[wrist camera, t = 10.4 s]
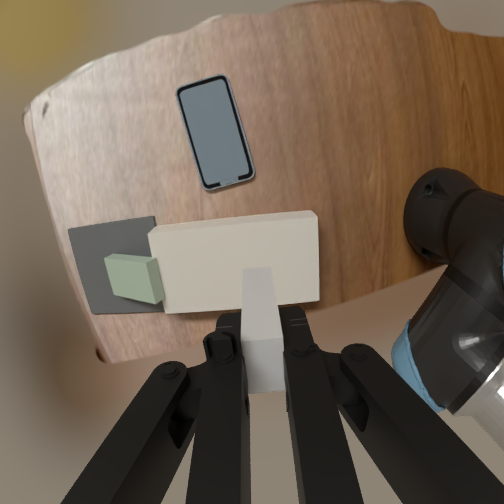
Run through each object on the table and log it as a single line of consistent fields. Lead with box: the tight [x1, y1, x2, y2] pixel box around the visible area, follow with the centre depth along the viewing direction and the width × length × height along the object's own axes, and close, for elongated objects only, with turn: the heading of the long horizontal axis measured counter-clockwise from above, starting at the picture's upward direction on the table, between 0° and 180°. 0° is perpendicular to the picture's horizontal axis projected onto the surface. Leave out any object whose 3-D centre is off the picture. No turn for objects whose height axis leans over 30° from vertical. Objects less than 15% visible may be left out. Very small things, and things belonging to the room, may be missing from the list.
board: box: [148, 210, 319, 314], centre depth 43 cm, size 22×12×4 cm, turn 96°
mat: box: [68, 216, 165, 314], centre depth 45 cm, size 15×15×1 cm
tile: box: [104, 253, 165, 304], centre depth 42 cm, size 9×6×2 cm, turn 96°
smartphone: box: [175, 74, 255, 190], centre depth 39 cm, size 7×1×15 cm
